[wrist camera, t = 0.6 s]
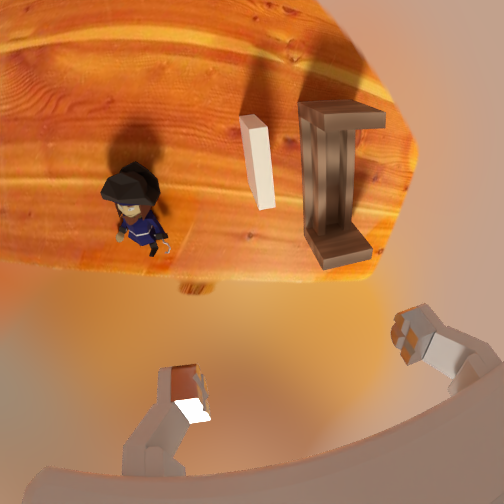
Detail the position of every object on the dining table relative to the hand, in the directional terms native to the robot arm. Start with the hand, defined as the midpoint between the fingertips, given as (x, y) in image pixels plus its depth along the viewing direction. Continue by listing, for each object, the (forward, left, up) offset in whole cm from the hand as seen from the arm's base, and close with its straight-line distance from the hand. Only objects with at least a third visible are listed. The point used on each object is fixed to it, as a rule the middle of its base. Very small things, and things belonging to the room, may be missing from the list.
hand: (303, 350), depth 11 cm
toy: (+8, -14, -33) cm, 36 cm away
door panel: (+3, +3, -32) cm, 33 cm away
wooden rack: (+8, +14, -32) cm, 36 cm away
